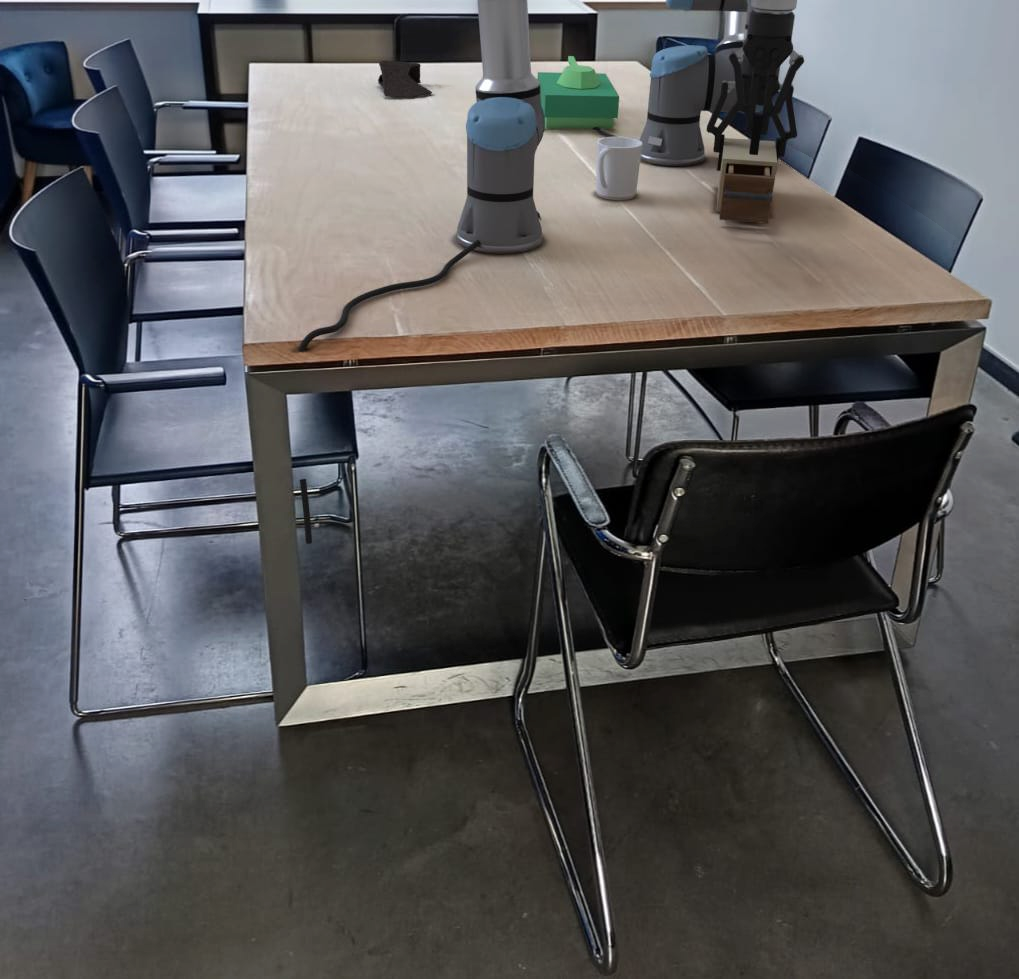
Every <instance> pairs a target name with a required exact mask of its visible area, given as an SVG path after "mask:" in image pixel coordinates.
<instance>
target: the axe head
mask: <svg viewBox="0 0 1019 979" xmlns="http://www.w3.org/2000/svg"><path fill="white" fill-rule="evenodd" d="M378 66H379V68H380V72H381V74H379V75H378V79H377V84H378V85H379V86H380V87H381V88H382V89H383V95H384V96H385V97H388V98H394V99H395V98H396V99H403V98H405V99H406V98H407V99H411V98H418V97H425V96H429V95H432V94H433V91H431V90H430V89H428V88H427V87H425V86H422V85H421V84H422V82H421V63H419V62H410V61H408V62H407V61H397V60H388V59H387V60H380V61H379V62H378Z"/></svg>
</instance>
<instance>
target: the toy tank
mask: <svg viewBox="0 0 1019 979" xmlns="http://www.w3.org/2000/svg"><path fill="white" fill-rule="evenodd" d="M567 63H568V65H567V66H566V67H564V69H563V70H562V72H551V71H549V72H548V71H547V72H545V71H544V72H543V71H542V72H541V71H537V76H536V77H537V79H538V80H539V81H540V92H541V107H542V109H543V113H544V115H545V130H547V129H548V130H593V128H595V127H598V128H600V129H601V130H613V129H614V126H615V119H619V107H620V95H619V94H618V91H617V90H616V88H615V87H614V85H613V84H612V81H611V80H610V78H609V77H608V75H607V74H606V73H601V72H600V73H599V72H598V73H597V72H596V70H595V68H593V67H591V66H589V65H580V64H578V62H577V61H576V58H575V56H573V55H568V56H567Z"/></svg>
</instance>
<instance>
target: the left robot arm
mask: <svg viewBox="0 0 1019 979" xmlns="http://www.w3.org/2000/svg"><path fill="white" fill-rule="evenodd" d="M797 5H798V0H751V7H752V8H754V10H752V11H751V12H750V14H749V22H748V30H747V37H746V39H745V41H744V42H743V46H742V47H741V48H740V49H738V50H736V51H732V52H730V54H729V60H730V62H731V64H732V66H733V68H734V75H735V84H736V93H737V102H738V109H739V111H741V112H740V113H743V112H744V113H743V114H746V122H745V134H746V135H751V136H750V140H751V141H750V149H749V155H758V150H759V143H760V140H761V136H766V135H767V134H768V132H769V123H770V118H771V115H773V114H779V115H780V113H781V112H782V111H783V107H784V105H785V103H786V97H787V95H788V92H789V89H790V87H791V84H793V82H794V79H795V76H796V75H797V72H798V70H799V69H800V68H801V67H802V65H803V64H804V63H805V57H804V56H803V55H802V54H799V53H798V52H797V51H796V50H794V43H793V40H792V39H793V31H794V25H795V18H796V15H795V13H794V12H793V11H795V10H796V9H797ZM477 14H478V24H479V25H478V26H479V36H480V37H479V40H480V50H481V51H480V54H481V67H482V68H481V69H482V78H481V79H480V80H479V81H478V82H477V83H476V85H475V100H476V101H475V103H474V104H472V105H471V106H470V108H469V109H468V111H467V119H466V123H465V130H466V192H467V193H466V198H465V202H464V205H463V209H462V211H461V214H460V218H459V220H458V224H457V228H456V241H457V243H458V244H459V245H461V246H462V247H464V249H463V250H462V251H460V252H459V253H458V254H456V255H455V256H454V257H452V258H451V259H450V260H448V262H446V264H445V265H444V266H443V268H442V269H441V271H440V272H439V273H437V274H436V275H433V276H431V277H428V278H423V279H419V280H412V281H405V282H399V283H393V284H389V285H385V286H381V287H378V288H374V289H372V290H369V291H366V292H364V293H362V294H360V295H358V296H356V297H355V298H353V299H352V300H350V301H349V302H347V303H346V304H345V305H344V307H343V309H342V311H341V316H340V318H339V320H338V321H337V322H336V323H335V324H333V325H329V326H323V327H320V328H316V329H314V330H312V331H311V332H309V333H308V334H307V335H306V336H305V337H304V338H303V339H302V341H301V342H300V344H299V346H298V348H297V352H300V353H302V352H305V351H306V350H307V348H308V346H309V344H310V343H311V342H312V341H313V340H314V339H315V338H318V337H320V336H324V335H328V334H333V333H336V332H339V330H341V329H342V328H343V327H344V326H345V325H346V323H347V322H348V318H349V313H350V311H351V310H352V309H353V308H354V307H355V306H357V305H358V304H360V303H362V302H364V301H366V300H369V299H371V298H375V297H378V296H381V295H383V294H386V293H391V292H394V291H399V290H406V289H414V288H420V287H424V286H425V287H426V286H429V285H432V284H435V283H437V282H440V281H441V280H443V279H444V278H445V277H447V275H448V273H449V271H450V270H451V268H452V267H453V266H454V265H456V264H457V263H458V262H460V260H462V259H463V258H465V257H466V256H467V255H468V254H470V253H471V252H473V251H475V252H479V253H486V254H497V255H499V254H500V255H506V254H507V255H508V254H517V253H524V252H527V251H530V250H533V249H536V248H538V247H539V246H540V245H541V244H542V243H543V229H542V224H541V221H542V218H541V214H540V212H539V211H538V210H537V206H536V204H535V199H534V184H535V181H534V180H535V158H536V152H537V150H538V147H539V145H540V143H541V142H542V140H543V138H544V133H545V130H546V129H545V115H544V113H543V109H542V107H541V92H540V81H539V80H538V79H537V78H536V77H535V75H533V73H532V64H531V63H532V62H531V45H530V26H529V25H530V23H529V6H528V0H477ZM744 53H745V55H746V57H747V58H748V60H749V62H750V64H751V66H752V67H754V68H753V76H752V84H751V91H750V99H749V105H748V104H745V98H744V89H743V79H742V70H741V64H740V63H741V62H742V61H743V54H744ZM788 58H789V60H788V64H789V67H788V69H787V72H786V73H785V76H784V79H783V82H782V83H781V84H782V87H781V90H779V91H778V92H779V93H778V95H777V97H776V100H775V102H774V105H773V106H771V104H772V100H773V98H772V97H774V96H773V90H774V83H775V76H776V69H777V68H779V67H780V68H781V66H782V65H783V64H784V62H785V61H787V59H788ZM761 69H768V77H767V84H766V92H765V99H764V107H763V111H762V113H756V112H755V110H756V103H757V95H758V88H759V81H760V74H761ZM307 484H308V482H307V478H301V479H299V487H300V494H301V496H300V497H301V502H302V503H301V505H302V514H303V522H304V523H303V524H304V525H303V526H304V538H305V544H306V545H311V544H313V536H312V535H313V534H312V523H311V511H310V503H309V502H310V501H309V492H308V485H307Z"/></svg>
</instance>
